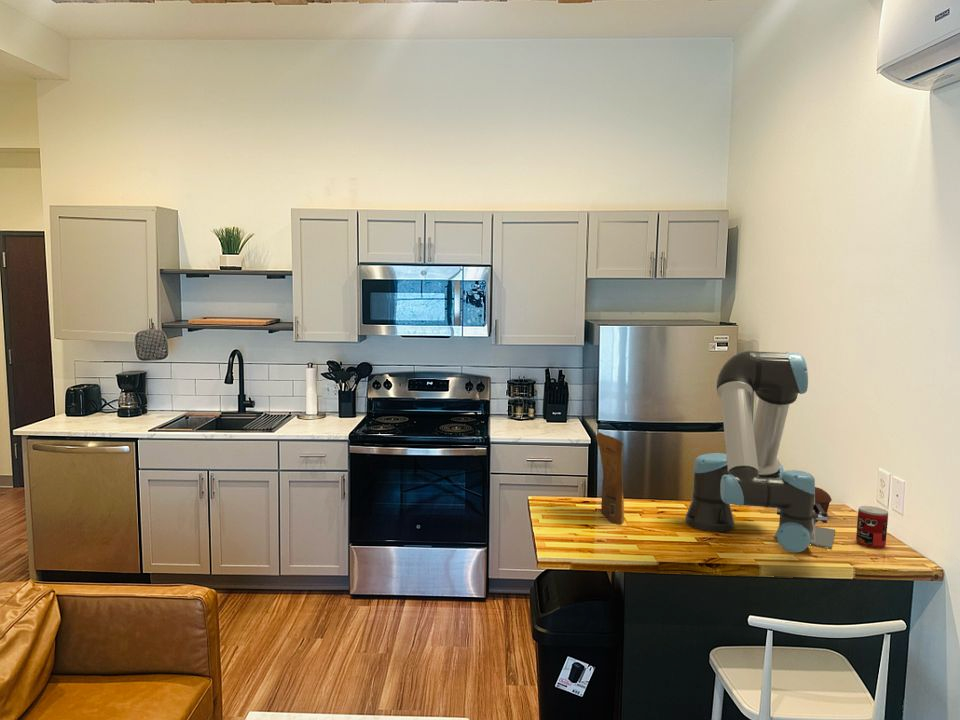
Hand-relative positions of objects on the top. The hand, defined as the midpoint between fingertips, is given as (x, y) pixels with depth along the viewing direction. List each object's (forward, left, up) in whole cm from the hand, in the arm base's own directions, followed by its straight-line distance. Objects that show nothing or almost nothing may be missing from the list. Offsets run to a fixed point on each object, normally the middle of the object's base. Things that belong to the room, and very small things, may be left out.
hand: (807, 498), depth 199 cm
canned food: (+17, +17, -16) cm, 29 cm away
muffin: (-1, +38, -16) cm, 41 cm away
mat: (-1, +15, -15) cm, 21 cm away
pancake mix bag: (-59, -5, -16) cm, 61 cm away
